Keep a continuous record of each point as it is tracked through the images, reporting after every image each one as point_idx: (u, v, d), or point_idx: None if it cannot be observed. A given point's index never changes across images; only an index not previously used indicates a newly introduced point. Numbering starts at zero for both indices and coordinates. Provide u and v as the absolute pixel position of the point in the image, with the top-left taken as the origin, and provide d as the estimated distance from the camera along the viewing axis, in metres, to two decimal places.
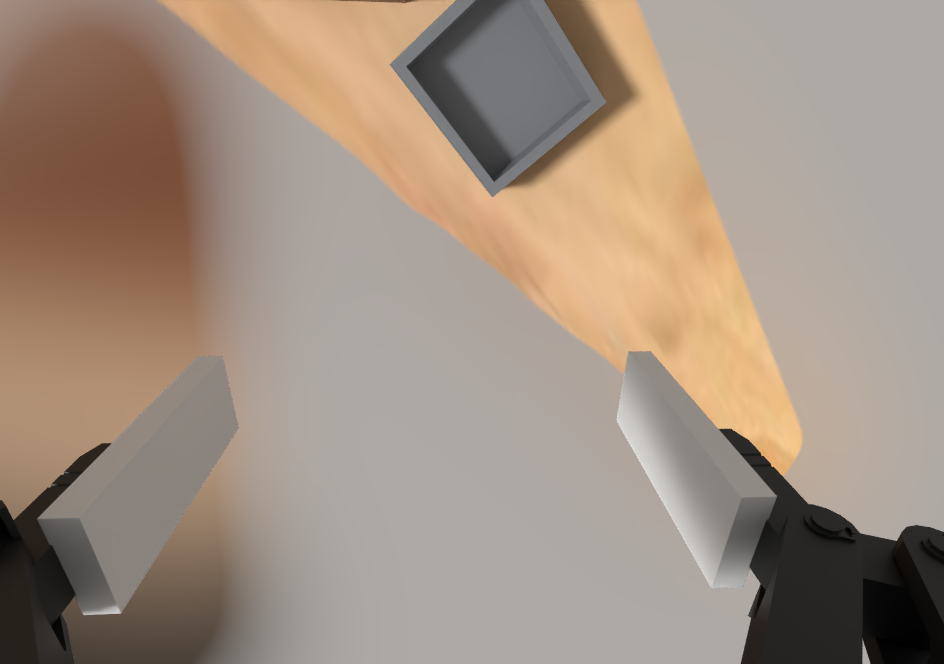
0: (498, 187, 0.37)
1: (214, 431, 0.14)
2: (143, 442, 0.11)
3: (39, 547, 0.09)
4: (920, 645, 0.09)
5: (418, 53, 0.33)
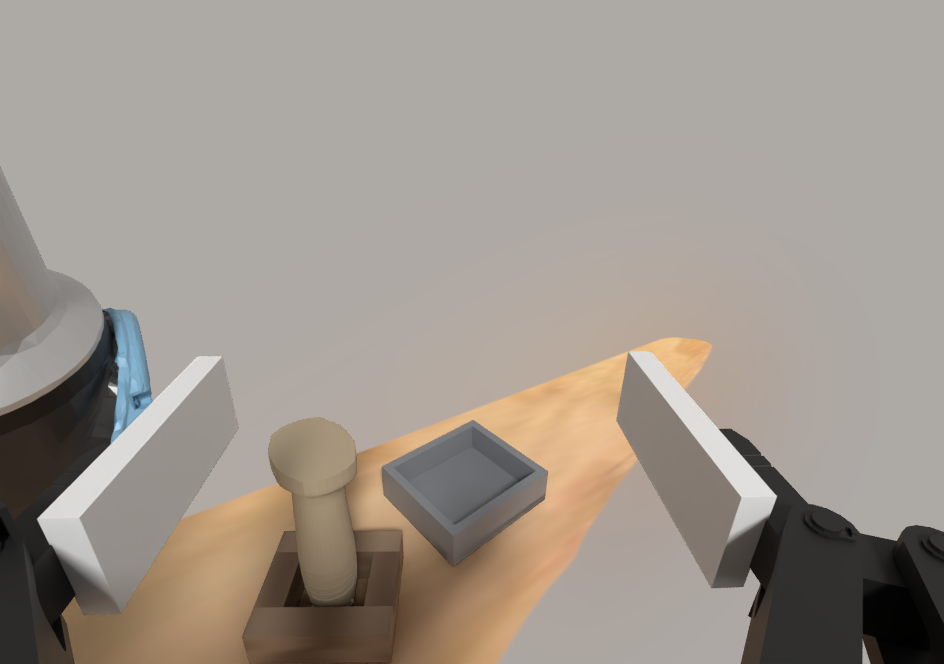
0: (539, 468, 0.46)
1: (214, 431, 0.14)
2: (143, 442, 0.11)
3: (39, 547, 0.09)
4: (920, 646, 0.09)
5: (445, 517, 0.40)
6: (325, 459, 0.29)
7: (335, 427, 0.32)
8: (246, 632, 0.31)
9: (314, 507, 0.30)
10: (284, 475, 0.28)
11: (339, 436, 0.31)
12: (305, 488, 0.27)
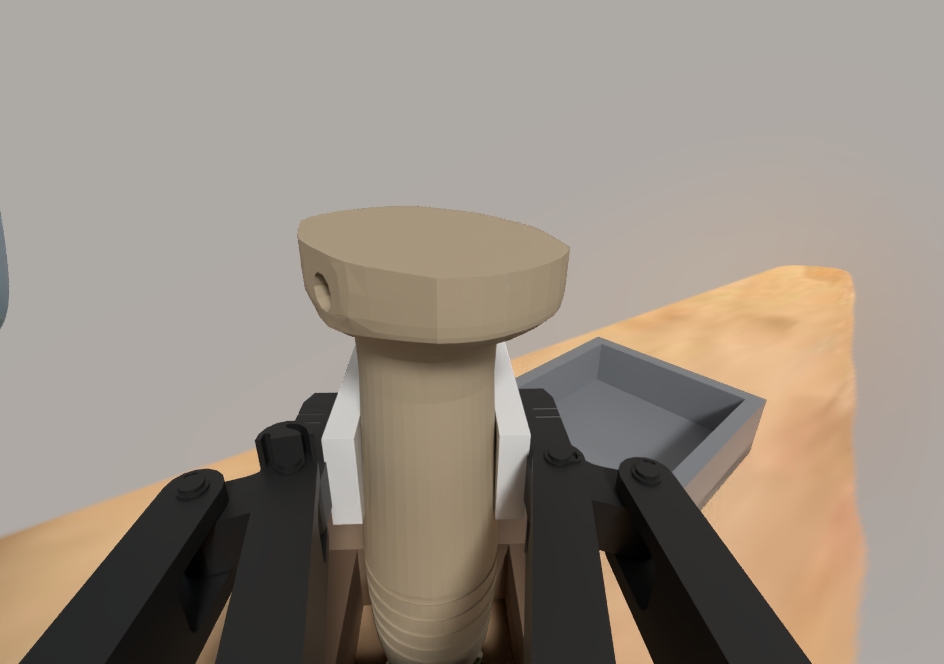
0: (748, 395, 0.26)
1: None
2: None
3: (318, 463, 0.11)
4: (648, 556, 0.11)
5: None
6: (478, 247, 0.09)
7: (465, 215, 0.12)
8: None
9: (433, 407, 0.10)
10: (365, 268, 0.08)
11: (485, 222, 0.11)
12: (444, 302, 0.08)
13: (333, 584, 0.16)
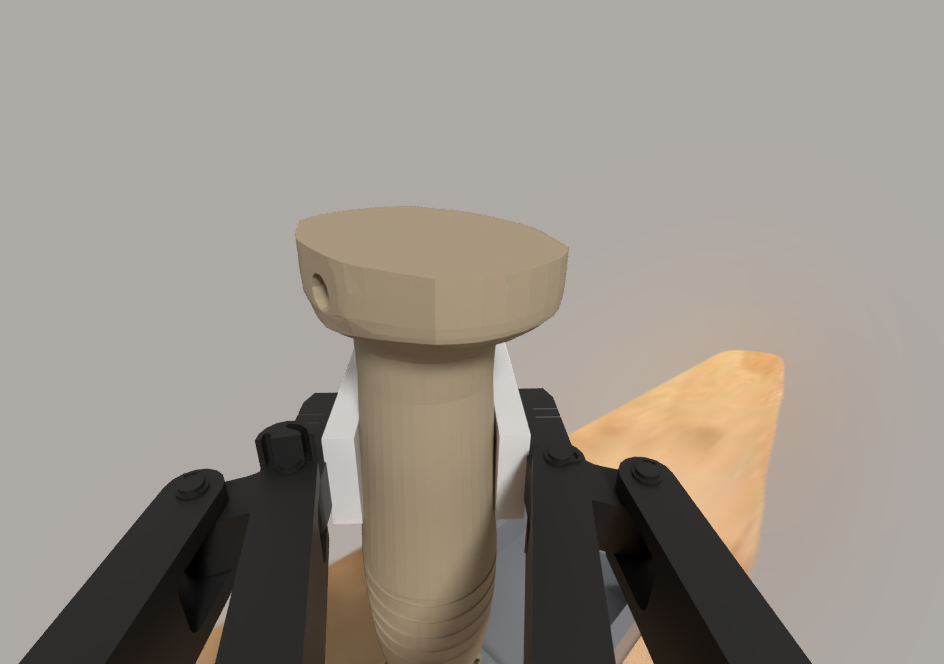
0: None
1: None
2: None
3: (318, 463, 0.11)
4: (648, 555, 0.11)
5: None
6: (476, 247, 0.09)
7: (464, 215, 0.12)
8: None
9: (432, 408, 0.10)
10: (363, 269, 0.08)
11: (484, 222, 0.11)
12: (442, 303, 0.08)
13: None
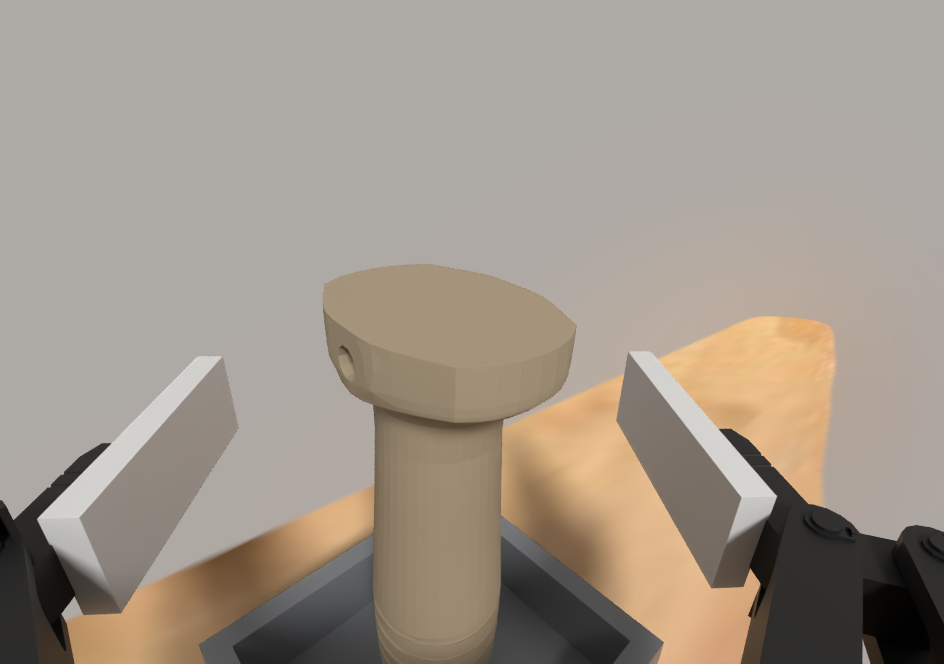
0: (637, 630, 0.17)
1: (214, 431, 0.14)
2: (143, 442, 0.11)
3: (39, 547, 0.09)
4: (920, 646, 0.09)
5: None
6: (491, 323, 0.10)
7: (477, 277, 0.13)
8: None
9: (445, 467, 0.11)
10: (390, 352, 0.09)
11: (496, 289, 0.12)
12: (462, 388, 0.08)
13: None
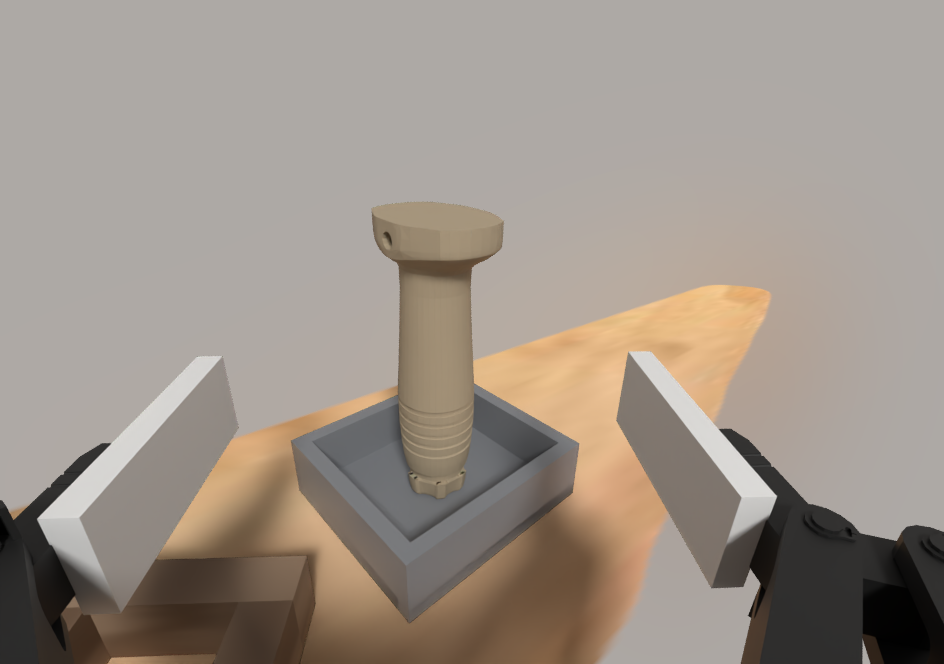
0: (564, 438, 0.27)
1: (214, 431, 0.14)
2: (143, 442, 0.11)
3: (39, 547, 0.09)
4: (920, 646, 0.09)
5: (392, 527, 0.21)
6: (460, 220, 0.20)
7: (456, 206, 0.23)
8: None
9: (438, 300, 0.21)
10: (409, 227, 0.19)
11: (466, 210, 0.22)
12: (443, 241, 0.18)
13: None
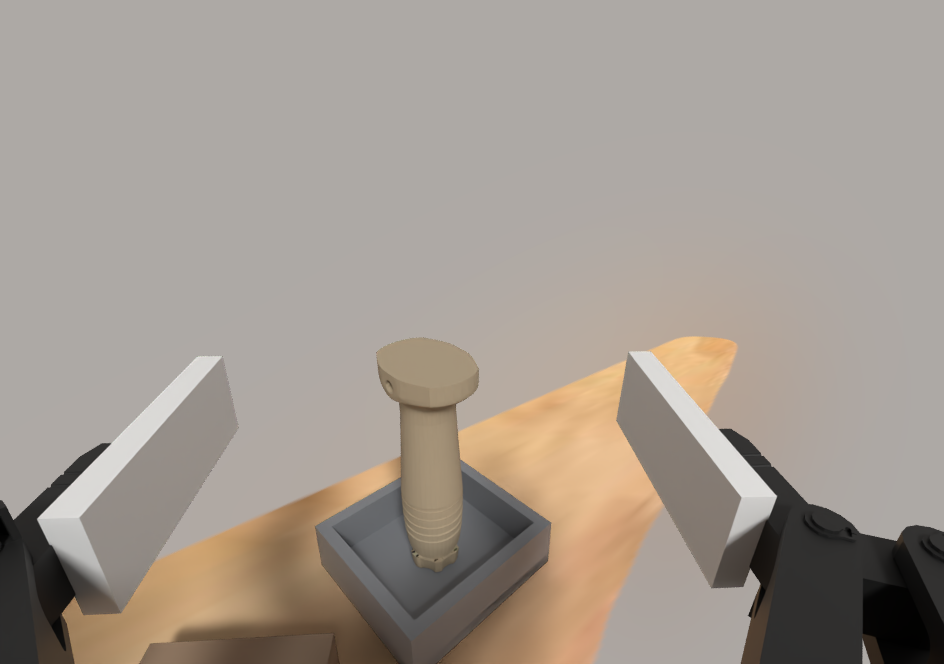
0: (538, 518, 0.32)
1: (214, 431, 0.14)
2: (143, 442, 0.11)
3: (39, 547, 0.09)
4: (920, 646, 0.09)
5: (400, 607, 0.27)
6: (445, 369, 0.26)
7: (443, 344, 0.29)
8: None
9: (430, 427, 0.27)
10: (406, 383, 0.25)
11: (450, 351, 0.28)
12: (431, 395, 0.24)
13: None
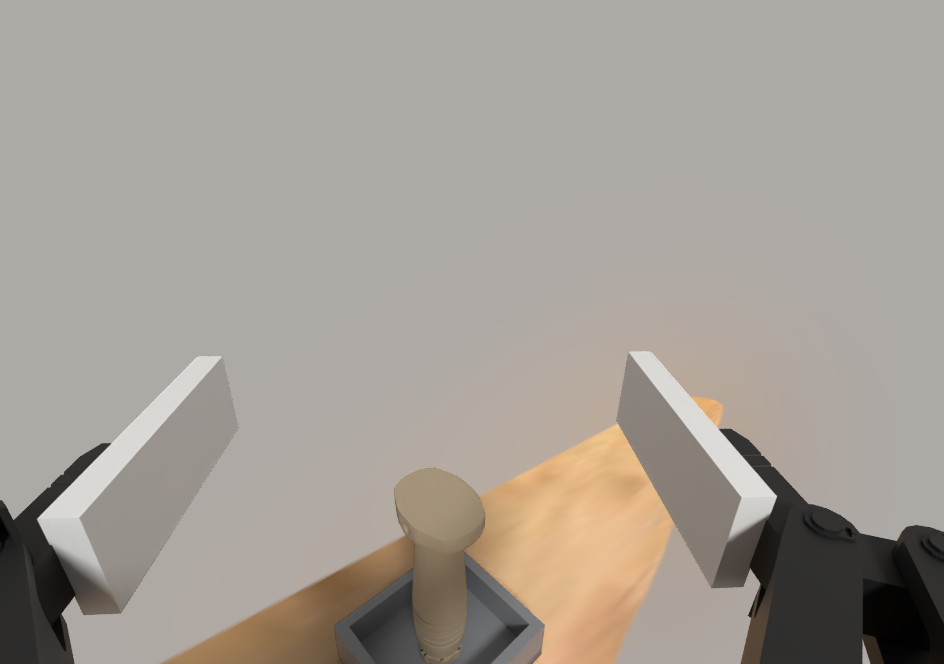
0: (533, 619, 0.36)
1: (214, 431, 0.14)
2: (143, 442, 0.11)
3: (39, 547, 0.09)
4: (920, 646, 0.09)
5: None
6: (455, 514, 0.30)
7: (453, 478, 0.32)
8: None
9: (441, 560, 0.30)
10: (422, 532, 0.28)
11: (460, 488, 0.32)
12: (444, 545, 0.28)
13: None
